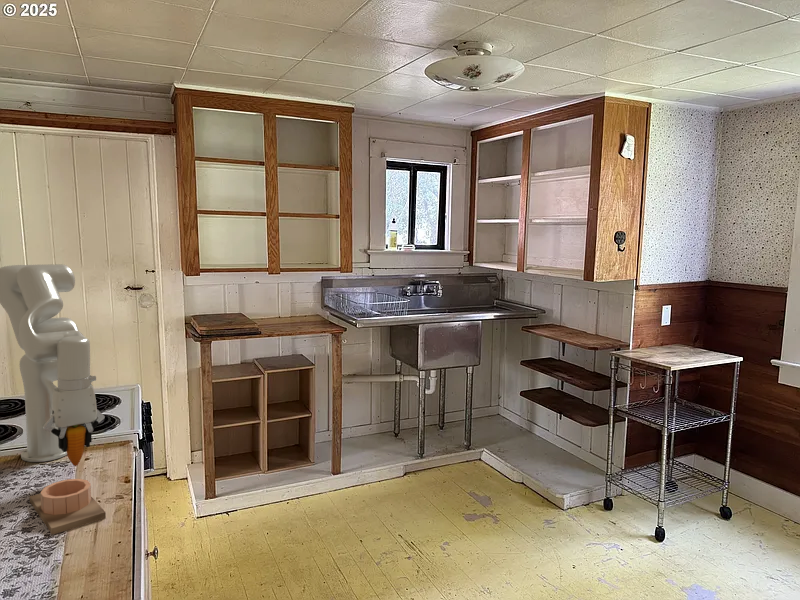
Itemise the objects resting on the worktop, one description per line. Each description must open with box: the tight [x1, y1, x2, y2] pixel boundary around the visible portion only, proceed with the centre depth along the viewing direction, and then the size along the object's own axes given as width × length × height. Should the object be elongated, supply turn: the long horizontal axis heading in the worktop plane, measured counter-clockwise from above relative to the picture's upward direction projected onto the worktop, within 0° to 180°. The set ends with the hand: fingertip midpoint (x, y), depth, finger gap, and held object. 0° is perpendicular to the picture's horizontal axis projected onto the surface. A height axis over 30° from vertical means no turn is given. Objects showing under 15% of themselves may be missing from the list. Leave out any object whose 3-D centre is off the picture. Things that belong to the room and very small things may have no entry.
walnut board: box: [29, 492, 106, 536], centre depth 133 cm, size 20×11×2 cm, turn 45°
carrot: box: [65, 424, 86, 467], centre depth 149 cm, size 5×5×15 cm
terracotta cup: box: [40, 478, 92, 515], centre depth 133 cm, size 10×10×4 cm
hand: (75, 447), depth 150 cm, fingers closed on carrot, 4 cm apart
